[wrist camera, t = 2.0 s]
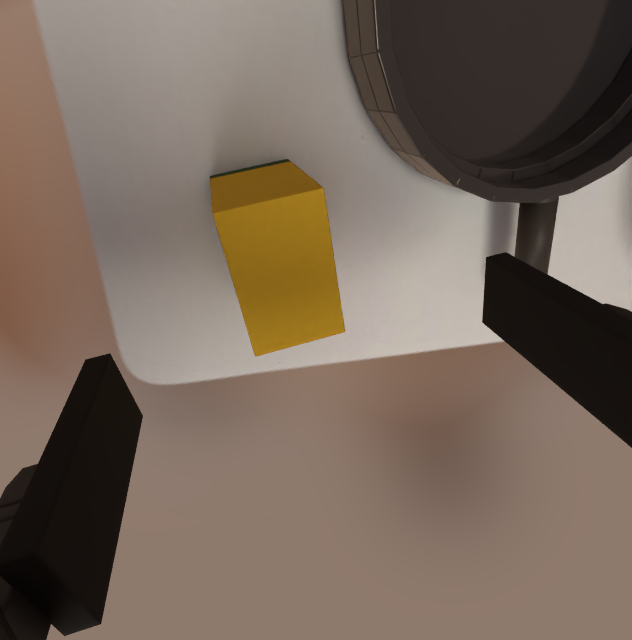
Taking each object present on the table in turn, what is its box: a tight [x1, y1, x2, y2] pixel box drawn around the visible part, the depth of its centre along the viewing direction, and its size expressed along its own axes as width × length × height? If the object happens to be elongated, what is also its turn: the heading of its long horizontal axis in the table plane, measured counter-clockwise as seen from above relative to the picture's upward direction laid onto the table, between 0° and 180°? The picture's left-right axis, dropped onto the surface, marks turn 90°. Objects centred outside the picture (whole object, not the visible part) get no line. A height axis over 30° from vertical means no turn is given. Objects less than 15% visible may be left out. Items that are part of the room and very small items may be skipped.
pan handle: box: [515, 196, 559, 274], centre depth 26 cm, size 8×2×2 cm, turn 9°
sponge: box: [210, 159, 345, 356], centre depth 21 cm, size 7×4×8 cm, turn 9°
